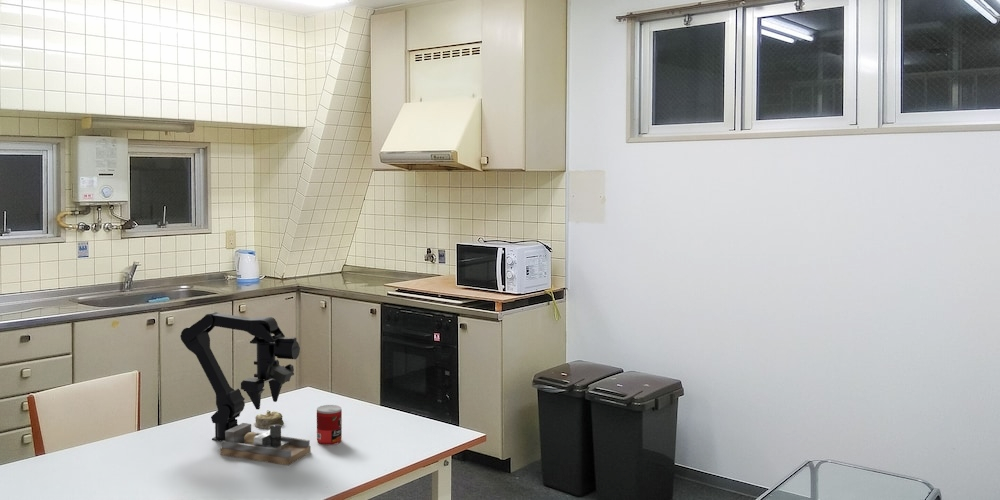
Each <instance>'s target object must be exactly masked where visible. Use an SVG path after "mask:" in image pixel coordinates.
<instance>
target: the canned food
mask: <svg viewBox="0 0 1000 500" xmlns="http://www.w3.org/2000/svg"><path fill="white" fill-rule="evenodd" d="M342 413H343V412H342V407H341V406H339V405H336V404H324V405H320V406H317V408H316V440H317V443H319V444H320V445H323V446H331V445H332V446H334V445H337V444H340V443H341V442H342V439H343V438H342V435H343V434H342V428H343V427H342V425H343V424H342V422H343V421H342V420H343V419H342Z"/></svg>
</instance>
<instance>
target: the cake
mask: <svg viewBox="0 0 1000 500" xmlns="http://www.w3.org/2000/svg"><path fill="white" fill-rule="evenodd" d="M283 417H284V416H283V414H282V413H280V412H278V411H274V410H273V411H271V410H270V409H269V410H266V413H265V414H262V413H260V414H256V415H255V422H254V423H253V426H255V427H256V428H258V429H270V426H271V425H273V424H280V425H281V426H283V425H284V423H285V422H284V420H283Z"/></svg>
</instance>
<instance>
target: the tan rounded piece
mask: <svg viewBox="0 0 1000 500" xmlns="http://www.w3.org/2000/svg"><path fill="white" fill-rule="evenodd" d="M255 436H257V435H256V434H255V433H254V431H251V432H249V433H247V434H246V435H245V436H244V442H245V444H250V445H254V437H255Z"/></svg>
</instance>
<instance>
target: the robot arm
mask: <svg viewBox="0 0 1000 500" xmlns="http://www.w3.org/2000/svg"><path fill="white" fill-rule="evenodd" d="M278 324H279V323H278V321H277V320H276V318H274V317H272V316H263V317H262V316H261V317H247V316H246V317H245V316H239V315H233V314H226V313H220V312H217V311H213V312H209V313H207V314H205V315H204V316H203V317H202V318H201V319H199V320H197V321H196V322H194V323H193V324H192V325H191V326H188V327H185V328H184V329H182V331H181V333H180V336H179V337H180V340H181V342H182V343H183V345H184V346H185V347H186V348H187V349H188V351H189V352H191V353H192V354H193V355H195V356H196V359H197V360H198V363H199V364H200V366H201V368H202V370H203V372H204V374H205V376H206V379H207V380H208V382H209V383H210V386H211V388H212V390H213V391H214V393H215V406H216V409H217V410H216V412H214V413H213V414H212V415H211V417H210V420H211V422H212V424H214V425H215V427H214V430H215V431H214V432H215V434H214V435H215V436H214V437H212V438H211V440H212V441H216V442H222V441H225V431H227V430H229V429H231V428H233V427H235V426H237V425H239V424H238V419H237V418H238V417H240V415H241V413H242V412H243V410H244V409H245V405H246V403H245V400H246V399H245V397H243V395H242V392H241V390H243V392H246V393H245V394H247V396H248V398H249V399H250V401H251V402H252V405H253V406H254V408H255V410H257V411H258V410H260V409H261V397H262V394H263V392H264V391H265V388H264V387H265V384H266V383H268V385H269V389H270V393H271V398H272V401H273V403H277V401H278V398H279V397H280V392H281V390H282V387H283V385H284V384H285V383H287V382H290V381H291V378H292V377H293V376H295V373H294V372H295V370H294V365H293V364H291V363H289V364H286V365H280V361H279V359H282V360H283V359H284V360H285V359H286V360H297V359H298V357H299V356H300V352H301V351H300V349H301V348H300V344H299V342H298V341H297V337H293V336H292V337H286V336H285V333H283V331H282V330H281V328H280V326H279V325H278ZM215 327H216V328H217V327H218V328H225V329H231V330H236V331H237V330H238V331H242V332H246V333H248V334H249V335H251V336H253V338H252V339H251V340H250V341H249V343H250V344H251V345H252V344H254V345H256V360H254V361H253V365H256V373H253V377H248V378H246V379H243V380H242V381H241V382H240V389H239V388H237V389H234V388H232V387H231V385H230V383H229V382H228V379H227V378H226V376H225V374H224V372H223V369H222V368H221V366H220V364H219V363H218V360H217V358H216V356H215V355H214V353H213V351H212V349H211V338H210V335H209V333H210V332H211V331H212V330H214V328H215ZM276 358H277V359H276Z"/></svg>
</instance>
